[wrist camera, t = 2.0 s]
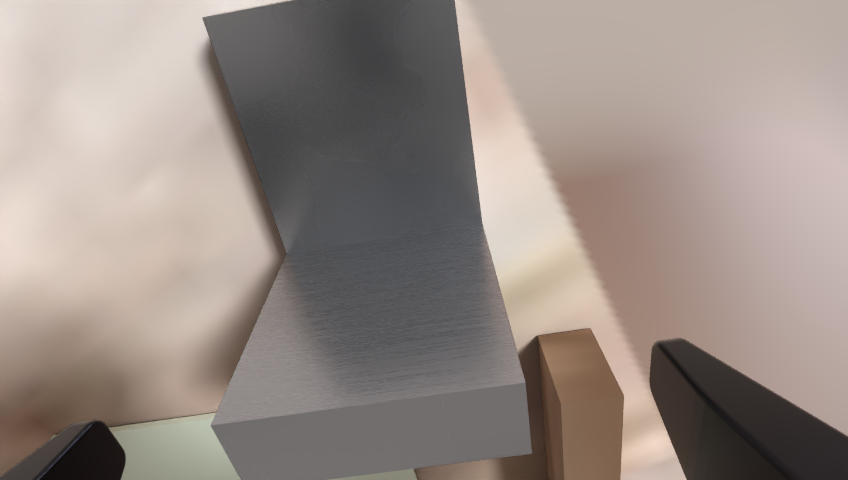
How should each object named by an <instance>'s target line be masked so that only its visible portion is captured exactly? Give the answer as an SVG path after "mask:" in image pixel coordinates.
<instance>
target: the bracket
mask: <svg viewBox="0 0 848 480" xmlns="http://www.w3.org/2000/svg"><path fill="white" fill-rule="evenodd" d="M203 21H204V24H205V26H206V29H207V32H208V35H209V38H210V41H211V43H212V46H213V49H214V52H215V55H216V57H217V60H218V63H219V66H220V69H221V71H222V74H223V77H224V80H225V83H226V85H227V88H228V91H229V94H230V97H231V99H232V102H233V105H234V108H235V111H236V113H237V116H238V119H239V122H240V125H241V127H242V130H243V133H244V136H245V139H246V141H247V144H248V147H249V150H250V153H251V155H252V158H253V161H254V164H255V167H256V169H257V172H258V175H259V178H260V181H261V183H262V186H263V189H264V192H265V195H266V197H267V200H268V203H269V206H270V209H271V211H272V214H273V217H274V220H275V223H276V225H277V228H278V231H279V234H280V237H281V239H282V242H283V245H284V248H285V251H286V253H287V254H286V256H285V259H284V261H283V263H282V265H281V268H280V270H279V272H278V274H277V277H276V279H275V281H274V283H273V286H272V288H271V290H270V292H269V295H268V297H267V299H266V301H265V304H264V306H263V308H262V310H261V313H260V315H259V317H258V319H257V322H256V324H255V326H254V328H253V331H252V333H251V335H250V337H249V340H248V342H247V344H246V346H245V349H244V351H243V353H242V355H241V358H240V360H239V362H238V364H237V367H236V369H235V371H234V373H233V376H232V378H231V380H230V383H229V385H228V387H227V389H226V392H225V394H224V396H223V398H222V401H221V403H220V405H219V407H218V410H217V412H216V414H215V416H214V419H213V421H212V423H211V425H210V426H211V427H212V429H213V431H214V433H215V435H216V436H217V438H218V440H219V442H220V444H221V445H222V447H223V449H224V451H225V453H226V454H227V456H228V458H229V460H230V461H231V463H232V465H233V467H234V469H235V470H236V472H237V474H238V476H239V478H240V479H241V480H329V479H337V478H345V477H352V476H360V475H368V474H376V473H384V472H392V471H400V470H408V469H415V468H423V467H431V466H439V465H447V464H455V463H463V462H471V461H479V460H486V459H494V458H502V457H510V456H518V455H526V454H532V447H531V437H530V426H529V415H528V404H527V393H526V382H525V379H524V375H523V371H522V368H521V364H520V360H519V357H518V353H517V349H516V346H515V342H514V338H513V335H512V331H511V327H510V324H509V320H508V316H507V313H506V309H505V305H504V301H503V298H502V294H501V290H500V287H499V283H498V279H497V276H496V272H495V268H494V265H493V261H492V257H491V254H490V250H489V246H488V243H487V239H486V235H485V232H484V228H483V224H482V218H481V210H480V202H479V194H478V186H477V178H476V170H475V161H474V153H473V145H472V137H471V129H470V121H469V113H468V105H467V97H466V89H465V81H464V73H463V65H462V57H461V49H460V41H459V33H458V25H457V17H456V9H455V1H454V0H287V1H282V2H276V3H271V4H266V5H261V6H256V7H250V8H245V9H240V10H235V11H230V12H224V13H220V14H216V15H212V16H207V17H203Z"/></svg>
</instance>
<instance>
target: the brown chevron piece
mask: <svg viewBox="0 0 848 480" xmlns="http://www.w3.org/2000/svg"><path fill="white" fill-rule="evenodd" d="M538 346H539V360H540V375H541V389H542V403H543V417H544V431H545V446H546V460H547V474H548V480H620V472H621V450H622V427H623V405H624V395H623V393H622V391H621V389H620V387H619V385H618V383H617V381H616V379H615V377H614V375H613V373H612V371H611V369H610V367H609V365H608V362H607V360H606V358H605V356H604V354H603V352H602V350H601V348H600V346H599V344H598V342H597V340H596V338H595V336H594V334H593V332H592V330H591V328H589V329H582V330H575V331H568V332H561V333H554V334H547V335H540V336H538Z"/></svg>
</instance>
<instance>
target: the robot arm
mask: <svg viewBox="0 0 848 480" xmlns="http://www.w3.org/2000/svg"><path fill="white" fill-rule="evenodd" d="M650 388H651V392H652V395H653V397H654V400H655V402H656V405H657V407H658V410H659V412H660V415H661V417H662V420H663V422H664V425H665V427H666V430H667V432H668V435H669V437H670V440H671V442H672V445H673V447H674V449H675V452H676V454H677V457H678V459H679V462H680V464H681V467H682V469H683V472H684V474H685V477H686V479H687V480H848V436H847V435H845V434H844V433H842V432H840V431H838V430H837V429H835V428H833V427H832V426H830V425H828V424H827V423H825V422H823V421H822V420H820V419H818V418H817V417H815V416H813V415H812V414H810V413H808V412H806V411H805V410H803V409H801V408H800V407H798V406H796V405H795V404H793V403H791V402H790V401H788V400H786V399H784V398H783V397H781V396H780V395H778V394H776V393H774V392H773V391H771V390H769V389H768V388H766V387H764V386H763V385H761V384H759V383H758V382H756V381H754V380H752V379H751V378H749V377H748V376H746V375H744V374H742V373H741V372H739V371H737V370H735V369H734V368H732V367H731V366H729V365H727V364H726V363H724V362H722V361H721V360H719V359H717V358H715V357H714V356H712V355H710V354H709V353H707V352H705V351H704V350H702V349H700V348H699V347H697V346H695V345H694V344H692V343H690V342H689V341H687V340H685V339H682V338H674V339H667V340H659V341H657V342H655V343H654V344H653V346H652V353H651V366H650ZM125 464H126V454H125V451H124V449H123V447H122V446H121V445H120V443H119V442H118V440H117V439H116V438H115V436H114V435H113V433H112V432H111V430H110V429H109V428H108V426H107V425H106V424H105V423H104V422H103V421H101V420H89V421H82V422H77V423H73V424H71V425H70V426H68V427H67V428H65V429H64V430H63V431H61V432H60V433H59V434H57V435H56V436H55V437H53V438H52V439H50V440H49V441H48V442H46V443H45V444H44V445H42V446H41V447H40V448H38V449H37V450H36V451H34V452H33V453H32V454H30V455H29V456H28V457H26V458H25V459H23V460H22V461H21V462H19V463H18V464H17V465H15V466H14V467H13V468H11V469H10V470H9V471H7V472H6V473H5V474H3V475H2V476H0V480H121V478H122V474H123V471H124V468H125Z"/></svg>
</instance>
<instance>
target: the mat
mask: <svg viewBox="0 0 848 480" xmlns="http://www.w3.org/2000/svg"><path fill="white" fill-rule="evenodd" d="M215 414H216V413H210V414H203V415H196V416H189V417H181V418H174V419H167V420H160V421H152V422H145V423H138V424H131V425H124V426H116V427H109V429H110V430H111V432H112V433H113V435H114V436H115V438H116V439H117V440H118V442H119V443H120V445H121V446H122V447H123V449H124V451H125V454H126V464H125V468H124V471H123V474H122V478H121V480H241V479H240V478H239V476H238V474H237V472H236V470H235V469H234V467H233V465H232V463H231V461H230V460H229V458H228V456H227V454H226V453H225V451H224V449H223V447H222V445H221V444H220V442H219V440H218V438H217V436H216V435H215V433H214V431H213V429H212V427H211V426H210V425H211V423H212V421H213V419H214V416H215ZM55 436H56V435H53V436H52V437H51V439H52V438H53V437H55ZM329 480H417V477H416V473H415V470H414V469H408V470H400V471H392V472H384V473H376V474H368V475H360V476H352V477H345V478H337V479H329Z"/></svg>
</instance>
